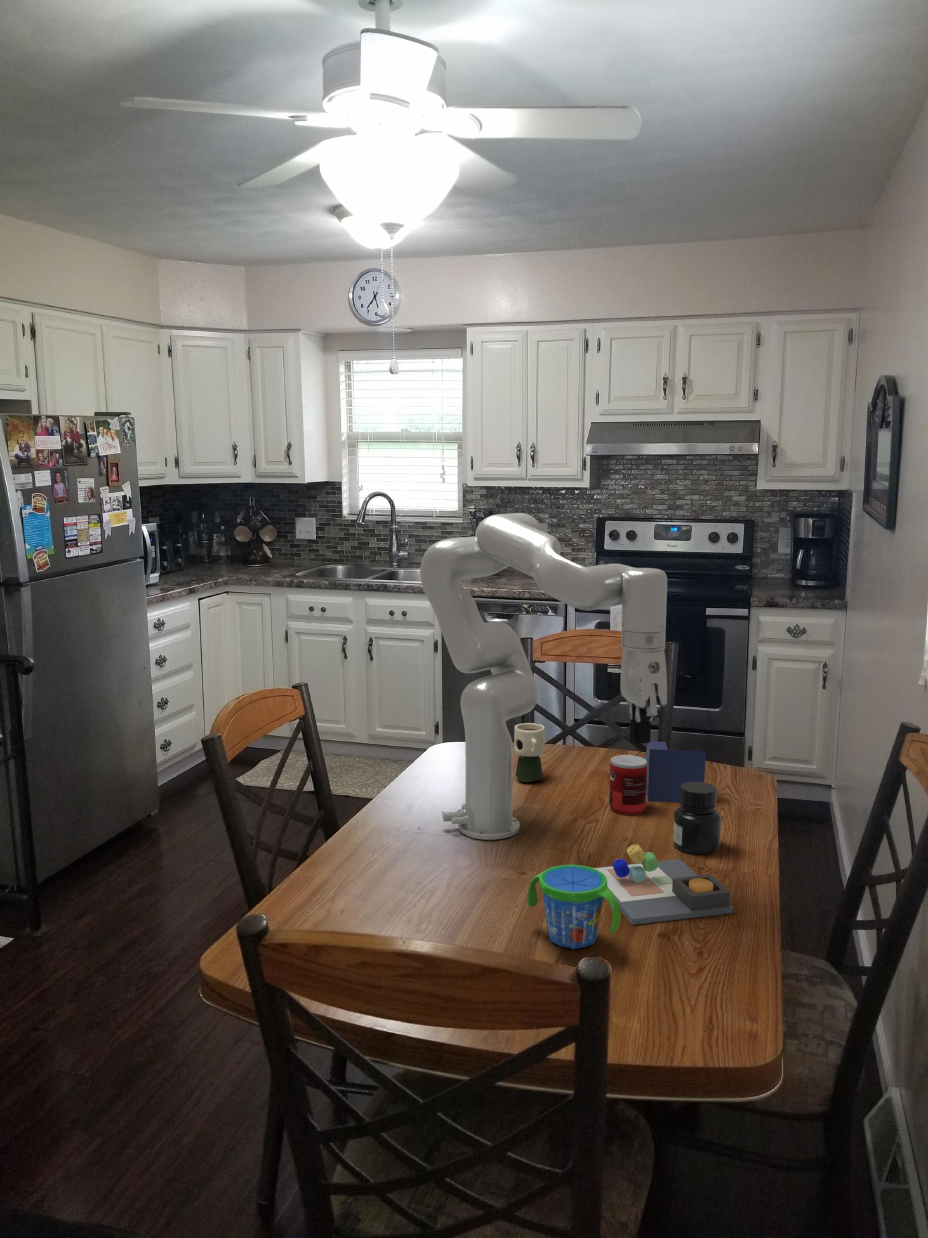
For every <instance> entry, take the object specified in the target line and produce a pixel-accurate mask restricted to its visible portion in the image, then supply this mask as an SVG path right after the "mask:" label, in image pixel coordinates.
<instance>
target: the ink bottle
mask: <svg viewBox="0 0 928 1238" xmlns="http://www.w3.org/2000/svg"><path fill="white" fill-rule="evenodd" d="M717 795H718V789H717V787H716V786H715V785H713V784H712V783H707V782H705V781H704V782H686V783H684V784H682V785H681V789H680V803H679V804H680V806H679V807H678V808H677V809H676V810H674V814H673V830H672V831H673V837H672V840H673V841H672V843H673V845H674V847H675V848H677V849H678V850H679V851H683V852H685V853H691V854H695V855H696V854H697V855H709V854H713V853H715V852H717V851H719V849H720V848H721V847H720V846H721V828H722V817H721V814H720V813H719V812H718V810H717V809H716V807H717Z"/></svg>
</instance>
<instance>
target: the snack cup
mask: <svg viewBox="0 0 928 1238" xmlns="http://www.w3.org/2000/svg"><path fill="white" fill-rule="evenodd" d="M594 868H595V867H591V866H586V865H580V864H579V865H578V864H561V865H556V866H552V867H549V868H547V869H545V870H544V871H541V872H540V873H538V874H536V875H535V876H534V877H533V878H532V879H531V881H530V882H529V886H528V891H527V896H526V897H527V899H526V900H527V904H528V906H529V907H530V908H535V907H537V905H538V903H539V899H538V893H537V892H538V891H537V884H538V883H539V884H538V885H539V888H540V892H541V894H542V901H543V907H544V913H545V921H546V927H547V932H548V933H547V934H548V937H549V938H550V942H552V943H553V944H556V945H557V946H559V947H563V948H569V949H571V950H576V949H582V948H586V947H589V946H590V945H592V946H593V945H594V944H595V942H596V939H597V938H598V937H597V936H598V933H599V929H600V928H599V927H600V921H601V917H602V911H603V905H604V900H605V901H607V902H608V904H609V908H610V912H611V916H612V918H611V922H610V928H609V932H610V934H614V933H615V932H616V931H617V930H618V929H619V927H620V924H621V919H622V918H621V911H620V909H619V905H618V902H617V899H616V897H615V895H614V893H613V892H612V891H611V890H610V889H609V888H608V886H607V878H606V876H605V875H604V874H603V873H602V872H600V871H598V870H596V869H594Z"/></svg>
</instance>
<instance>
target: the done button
mask: <svg viewBox="0 0 928 1238" xmlns="http://www.w3.org/2000/svg"><path fill="white" fill-rule="evenodd" d="M689 889H690V890H691V891H693V892H694V893H701V892H710V891H713V883H712V882H711V881H709V880H707V879H702V878H695V879H691V880H690V881H689Z"/></svg>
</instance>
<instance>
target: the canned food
mask: <svg viewBox="0 0 928 1238" xmlns="http://www.w3.org/2000/svg"><path fill="white" fill-rule="evenodd" d="M609 761H610V763H609V803H608V805H609V808H610V810H611V812H612V811H613V812H614V813H616V814H618V815H619V814H620V815H623V816H624V815H625V816H636V815H641V814H643V813H644V812H645V810H646V807H647V795H646V789H647V760H646V759H645V758H644V757H642V756H638V755H632V754H619V755H615V756H612V757H610V760H609Z"/></svg>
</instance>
